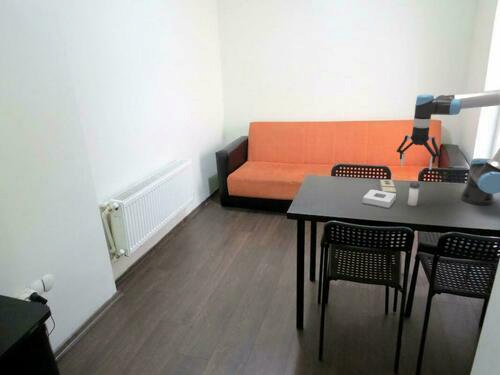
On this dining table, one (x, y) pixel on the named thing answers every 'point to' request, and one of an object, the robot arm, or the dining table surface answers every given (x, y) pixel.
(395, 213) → the dining table surface
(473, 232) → the dining table surface
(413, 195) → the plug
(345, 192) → the dining table surface
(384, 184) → the electrical outlet
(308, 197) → the dining table surface
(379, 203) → the socket block
